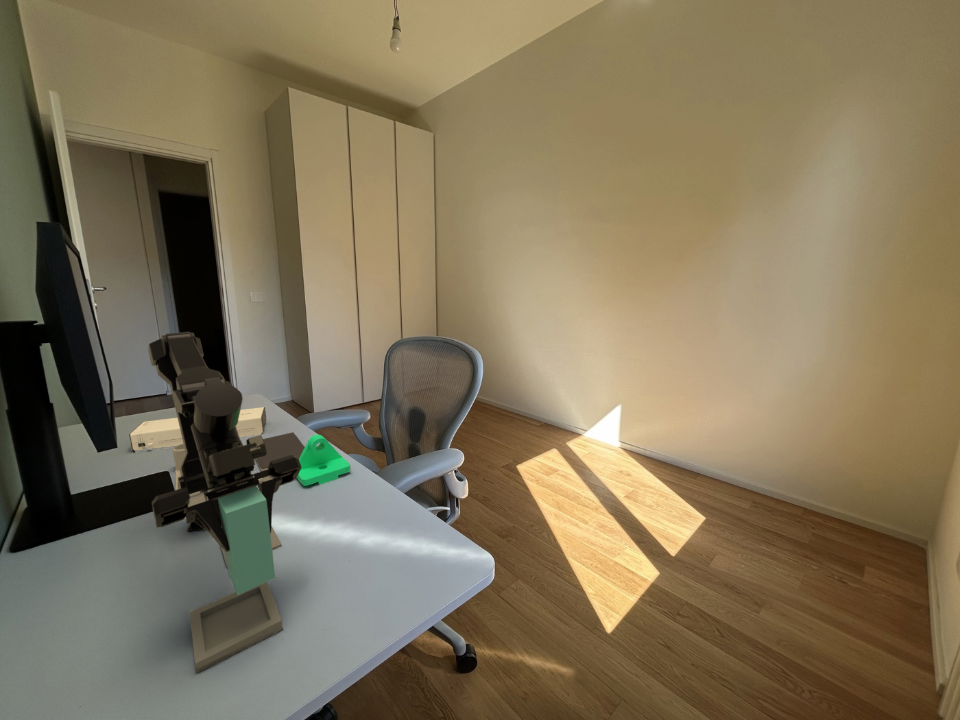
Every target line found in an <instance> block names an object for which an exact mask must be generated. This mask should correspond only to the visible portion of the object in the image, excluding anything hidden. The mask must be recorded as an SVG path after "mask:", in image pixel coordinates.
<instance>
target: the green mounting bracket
mask: <svg viewBox="0 0 960 720" xmlns="http://www.w3.org/2000/svg"><path fill="white" fill-rule="evenodd" d="M304 447H305V448H304V450H303V452H302V454H301V456H300V458H299V462H300V464H301V467H302V468H301V470H300V472H299V474H298V476H297V478H296V479H297V480H298V482H299V483H301V485H302V486H304V487H305V486H306V487H307V486H310V485H313V484H316V483H317V482H318V483H317V484H318V485H319V486H321V485H323V483H324V484H326V482H327V483H330V482H331V481H332V482H333V481H335V480H338V479H339V476H340V475H344V474H346V473H350V472H351V471H352V470H351V464H350V463H349V462H348V460H347V459H345V458H344V457H343V455H341V453H339V452H338V450H336V449H335V448H334V446H332V444H331V443H330V442H329V441H328V440H327V439H326V438H325V437H324V436H323V435H322V434H314V435H312V436H310V438H308V440H307V442H306V444H305V445H304ZM320 484H321V485H320Z"/></svg>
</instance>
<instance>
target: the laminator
mask: <svg viewBox="0 0 960 720" xmlns="http://www.w3.org/2000/svg"><path fill="white" fill-rule="evenodd" d="M266 412H267V411H266V407H265V406H263V407H261V406H260V407H254V408H246V409H240V414H239V419H238V423H237V425H236V428H237V431H238V434H239V437H240V438H245V437H244V436H247V437H253V436H252V435H254V436H259V434H261V435H263V433H264V429H265V425H266V423H267V413H266ZM128 436H129V441H130V445H131V450H132V451H133V450H142V449H144V448H147V449H152V448H161V447H171V446H178V445H181V444H183V439H182V435H181V431H180V426H179V422H178V418H177V417H172V418H164V419H162V418H161V419H155V420H149V421H142V422H141V423H140V424H139V425H137V427H135V429H133V430H132V431H131V432H130V433H129V434H128ZM171 448H172V447H171Z"/></svg>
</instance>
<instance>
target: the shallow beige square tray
mask: <svg viewBox="0 0 960 720" xmlns="http://www.w3.org/2000/svg"><path fill="white" fill-rule="evenodd" d="M268 582H269V581H267V582H265V583H263V584H261V585H259V586H256V587H254V588H252V589H250V590H248V591H246V592H244V593H242V594H240V595H237V593H236V591H234V592H232V593H230V594H227V595H225V596H223V597H221V598H219V599H216V600H213V601H212V602H209V603H207V604H204V605H203V606H200V607H198V608H195V609H193V610H191V611H189V619H190V628H191V638H192V648H193V655H194V663H195V670H196V674H199V673H201V672H203V671H205V670H207V669H210V668H211V667H213V666H215V665H217V664H218V663H221V662H222V661H224V660H226V659H228V658H231V657H232V656H234V655H236V654H238V653H240V652H242V651H244V650H246V649H249V647H252V646H254V645H256V644H257V643H259V642H262V641H264V640H265V639H268V638H269V637H271V636H273V635H275V634H277V633H279V632H281V631H283V630H284V629H283V621H282V618H281V614H280V612H279V609H278V607H277V604H276V601H275V599H274V597H273V593H272V591H271V588H270V585H269V583H268Z"/></svg>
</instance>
